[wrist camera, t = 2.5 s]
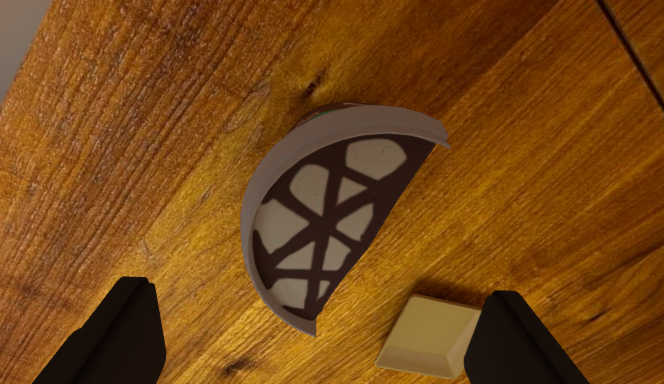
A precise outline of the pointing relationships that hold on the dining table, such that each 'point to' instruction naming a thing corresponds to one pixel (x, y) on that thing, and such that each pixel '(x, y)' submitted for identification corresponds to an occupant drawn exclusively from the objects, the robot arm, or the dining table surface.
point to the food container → (327, 200)
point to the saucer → (429, 337)
